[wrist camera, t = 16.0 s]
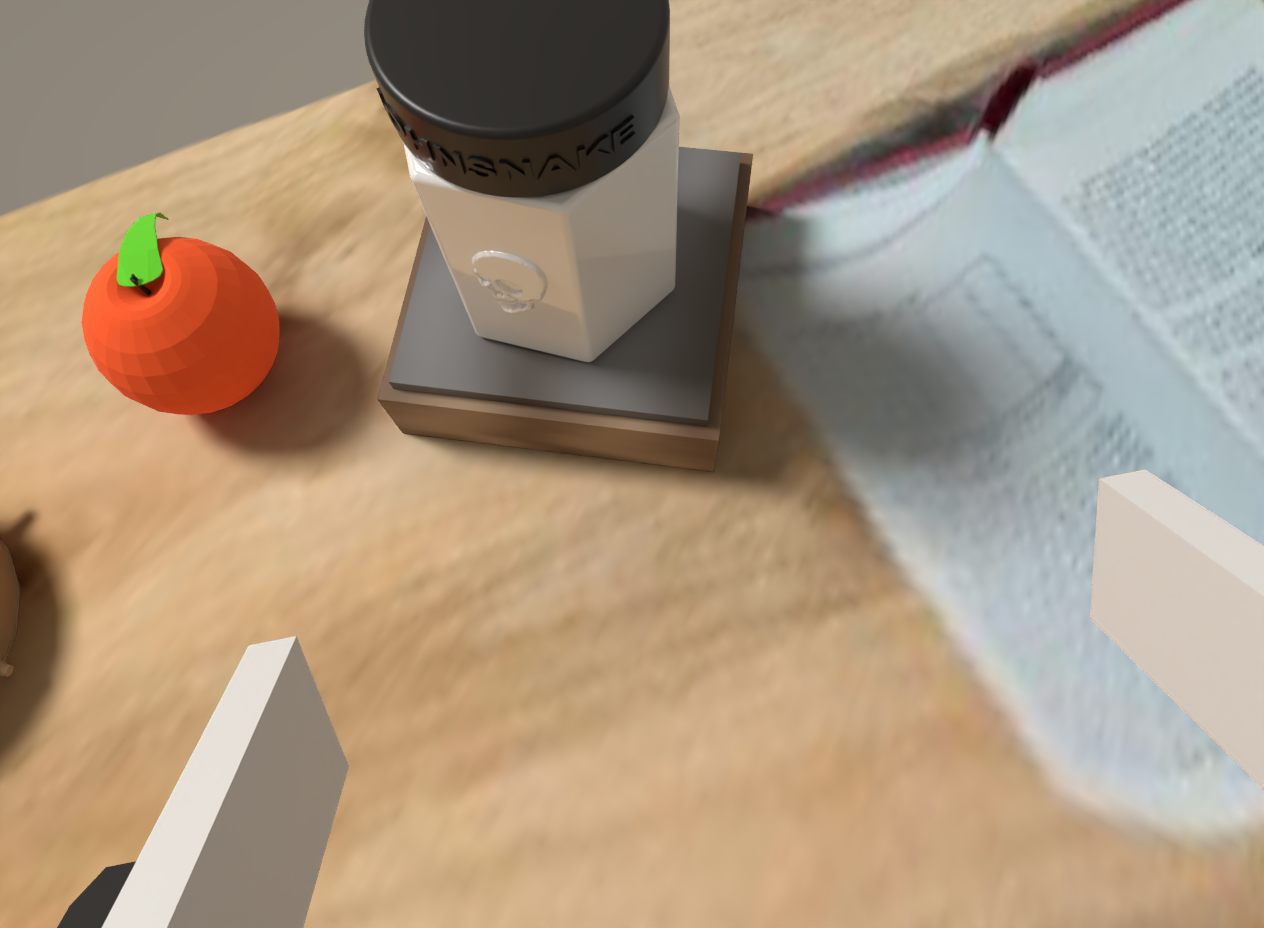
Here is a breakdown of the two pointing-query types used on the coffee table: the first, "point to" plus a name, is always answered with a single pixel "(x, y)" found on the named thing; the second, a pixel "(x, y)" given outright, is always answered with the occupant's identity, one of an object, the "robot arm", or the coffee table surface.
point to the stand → (576, 390)
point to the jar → (539, 157)
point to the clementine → (179, 323)
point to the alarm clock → (7, 607)
